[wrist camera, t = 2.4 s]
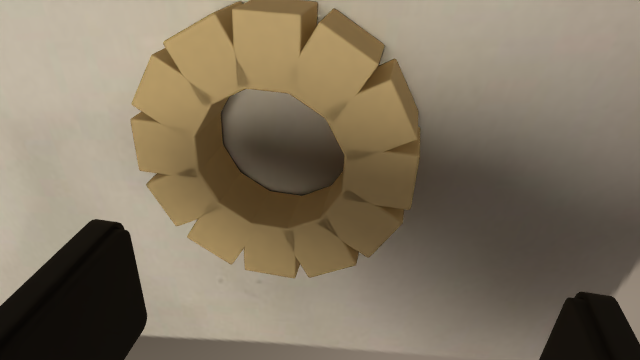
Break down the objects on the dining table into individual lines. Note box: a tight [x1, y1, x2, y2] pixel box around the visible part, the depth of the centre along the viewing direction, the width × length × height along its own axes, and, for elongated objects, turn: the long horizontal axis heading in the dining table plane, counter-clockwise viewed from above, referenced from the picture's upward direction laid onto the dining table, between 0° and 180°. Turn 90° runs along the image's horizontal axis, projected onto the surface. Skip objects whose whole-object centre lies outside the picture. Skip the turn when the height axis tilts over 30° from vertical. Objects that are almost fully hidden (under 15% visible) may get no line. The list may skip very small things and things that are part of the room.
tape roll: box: [131, 0, 420, 278], centre depth 17 cm, size 10×10×2 cm
